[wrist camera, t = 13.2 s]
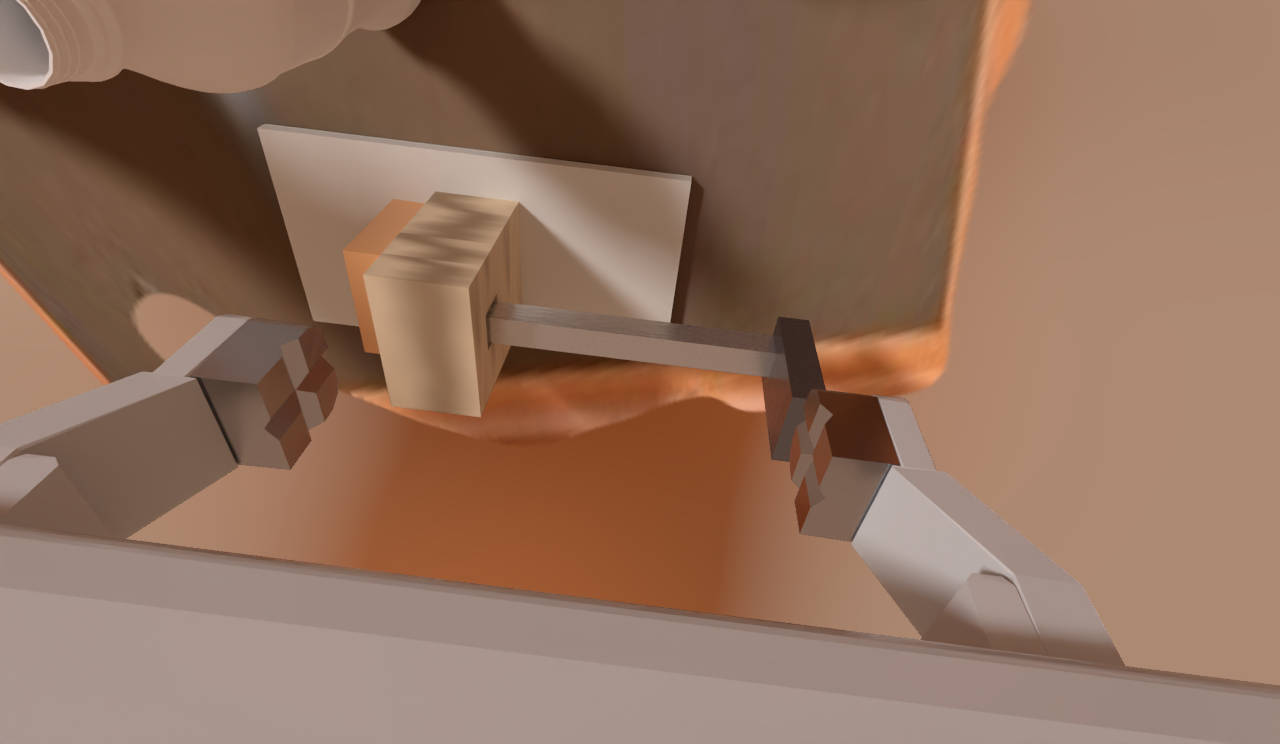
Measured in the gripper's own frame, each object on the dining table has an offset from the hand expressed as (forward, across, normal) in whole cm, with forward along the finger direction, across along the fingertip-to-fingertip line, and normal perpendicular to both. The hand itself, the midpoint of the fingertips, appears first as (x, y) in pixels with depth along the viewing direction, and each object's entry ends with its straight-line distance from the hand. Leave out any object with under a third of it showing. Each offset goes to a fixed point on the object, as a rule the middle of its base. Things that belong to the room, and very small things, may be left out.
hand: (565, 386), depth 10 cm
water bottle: (+34, +17, -2) cm, 38 cm away
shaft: (+26, 0, +17) cm, 31 cm away
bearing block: (+34, +12, +17) cm, 40 cm away
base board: (+34, +12, +17) cm, 40 cm away
